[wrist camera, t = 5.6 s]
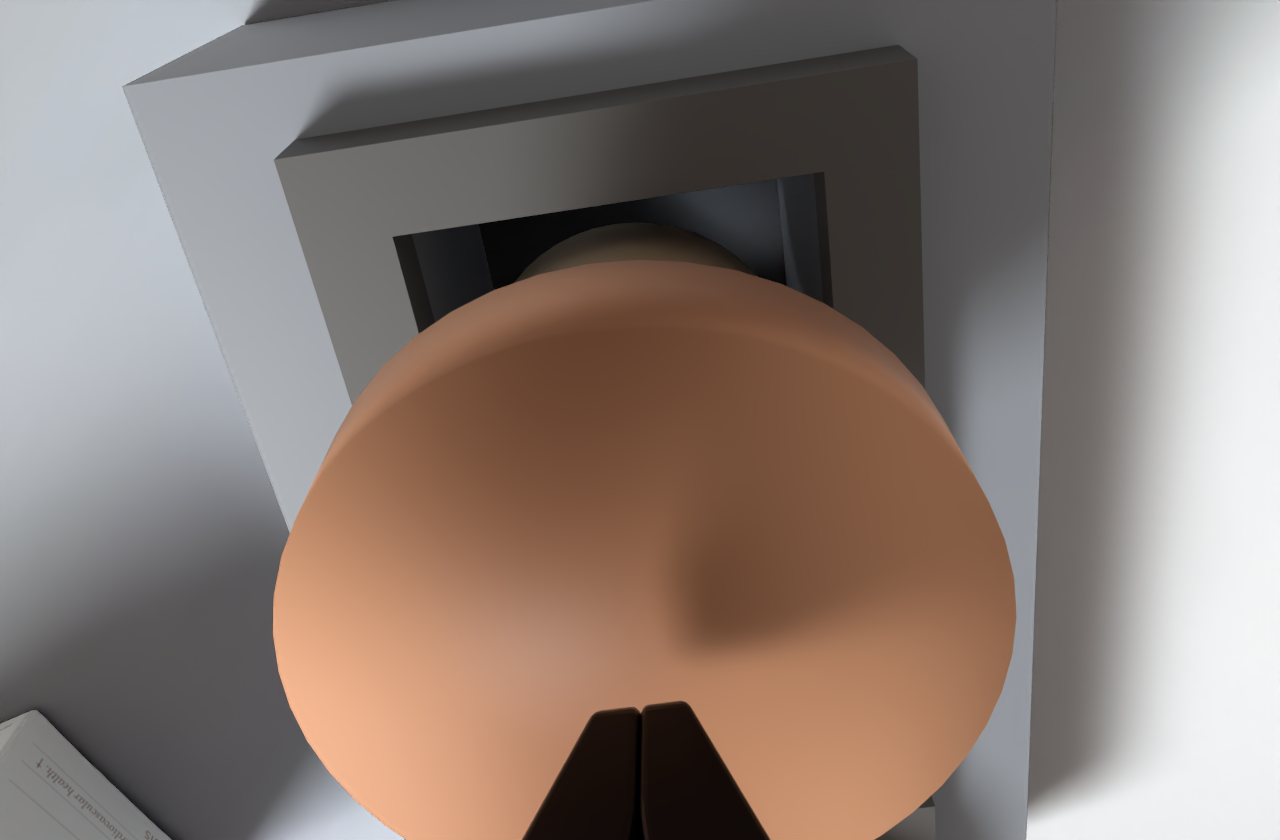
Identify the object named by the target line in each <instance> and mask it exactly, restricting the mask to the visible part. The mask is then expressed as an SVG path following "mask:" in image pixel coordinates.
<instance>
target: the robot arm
mask: <svg viewBox="0 0 1280 840" xmlns="http://www.w3.org/2000/svg"><path fill="white" fill-rule="evenodd" d="M522 840H771V839H770V838H769V836H768V834H767V833H766V831H765V829H764V828H763V826H762V824H761V823H760V821H759V819H758V818H757V816H756V814H755V813H754V811H753V809H752V808H751V806H750V804H749V803H748V801H747V799H746V798H745V796H744V794H743V793H742V791H741V789H740V788H739V786H738V784H737V783H736V781H735V779H734V778H733V776H732V774H731V773H730V771H729V769H728V768H727V766H726V764H725V763H724V761H723V759H722V758H721V756H720V754H719V753H718V751H717V749H716V748H715V746H714V744H713V743H712V741H711V739H710V738H709V736H708V734H707V733H706V731H705V729H704V728H703V726H702V724H701V723H700V721H699V719H698V718H697V716H696V714H695V713H694V711H693V709H692V708H691V706H690V705H689V704H688V703H687V702H685V701H674V702H666V703H658V704H649V705H646V706H645V707H644V708H643V709H642V712H640V711H639V710H638V709H637V708H635V707H625V708H617V709H609V710H601V711H597V712H595V713H594V714H593V715H592V716H591V717H590V719H589V720H588V722H587V724H586V726H585V728H584V729H583V731H582V733H581V735H580V736H579V738H578V740H577V742H576V744H575V745H574V747H573V749H572V751H571V753H570V754H569V756H568V758H567V760H566V761H565V763H564V765H563V767H562V769H561V770H560V772H559V774H558V776H557V778H556V779H555V781H554V783H553V785H552V786H551V788H550V790H549V792H548V794H547V795H546V797H545V799H544V801H543V802H542V804H541V806H540V808H539V810H538V811H537V813H536V815H535V817H534V819H533V820H532V822H531V824H530V826H529V827H528V829H527V831H526V833H525V835H524V836H523V838H522Z"/></svg>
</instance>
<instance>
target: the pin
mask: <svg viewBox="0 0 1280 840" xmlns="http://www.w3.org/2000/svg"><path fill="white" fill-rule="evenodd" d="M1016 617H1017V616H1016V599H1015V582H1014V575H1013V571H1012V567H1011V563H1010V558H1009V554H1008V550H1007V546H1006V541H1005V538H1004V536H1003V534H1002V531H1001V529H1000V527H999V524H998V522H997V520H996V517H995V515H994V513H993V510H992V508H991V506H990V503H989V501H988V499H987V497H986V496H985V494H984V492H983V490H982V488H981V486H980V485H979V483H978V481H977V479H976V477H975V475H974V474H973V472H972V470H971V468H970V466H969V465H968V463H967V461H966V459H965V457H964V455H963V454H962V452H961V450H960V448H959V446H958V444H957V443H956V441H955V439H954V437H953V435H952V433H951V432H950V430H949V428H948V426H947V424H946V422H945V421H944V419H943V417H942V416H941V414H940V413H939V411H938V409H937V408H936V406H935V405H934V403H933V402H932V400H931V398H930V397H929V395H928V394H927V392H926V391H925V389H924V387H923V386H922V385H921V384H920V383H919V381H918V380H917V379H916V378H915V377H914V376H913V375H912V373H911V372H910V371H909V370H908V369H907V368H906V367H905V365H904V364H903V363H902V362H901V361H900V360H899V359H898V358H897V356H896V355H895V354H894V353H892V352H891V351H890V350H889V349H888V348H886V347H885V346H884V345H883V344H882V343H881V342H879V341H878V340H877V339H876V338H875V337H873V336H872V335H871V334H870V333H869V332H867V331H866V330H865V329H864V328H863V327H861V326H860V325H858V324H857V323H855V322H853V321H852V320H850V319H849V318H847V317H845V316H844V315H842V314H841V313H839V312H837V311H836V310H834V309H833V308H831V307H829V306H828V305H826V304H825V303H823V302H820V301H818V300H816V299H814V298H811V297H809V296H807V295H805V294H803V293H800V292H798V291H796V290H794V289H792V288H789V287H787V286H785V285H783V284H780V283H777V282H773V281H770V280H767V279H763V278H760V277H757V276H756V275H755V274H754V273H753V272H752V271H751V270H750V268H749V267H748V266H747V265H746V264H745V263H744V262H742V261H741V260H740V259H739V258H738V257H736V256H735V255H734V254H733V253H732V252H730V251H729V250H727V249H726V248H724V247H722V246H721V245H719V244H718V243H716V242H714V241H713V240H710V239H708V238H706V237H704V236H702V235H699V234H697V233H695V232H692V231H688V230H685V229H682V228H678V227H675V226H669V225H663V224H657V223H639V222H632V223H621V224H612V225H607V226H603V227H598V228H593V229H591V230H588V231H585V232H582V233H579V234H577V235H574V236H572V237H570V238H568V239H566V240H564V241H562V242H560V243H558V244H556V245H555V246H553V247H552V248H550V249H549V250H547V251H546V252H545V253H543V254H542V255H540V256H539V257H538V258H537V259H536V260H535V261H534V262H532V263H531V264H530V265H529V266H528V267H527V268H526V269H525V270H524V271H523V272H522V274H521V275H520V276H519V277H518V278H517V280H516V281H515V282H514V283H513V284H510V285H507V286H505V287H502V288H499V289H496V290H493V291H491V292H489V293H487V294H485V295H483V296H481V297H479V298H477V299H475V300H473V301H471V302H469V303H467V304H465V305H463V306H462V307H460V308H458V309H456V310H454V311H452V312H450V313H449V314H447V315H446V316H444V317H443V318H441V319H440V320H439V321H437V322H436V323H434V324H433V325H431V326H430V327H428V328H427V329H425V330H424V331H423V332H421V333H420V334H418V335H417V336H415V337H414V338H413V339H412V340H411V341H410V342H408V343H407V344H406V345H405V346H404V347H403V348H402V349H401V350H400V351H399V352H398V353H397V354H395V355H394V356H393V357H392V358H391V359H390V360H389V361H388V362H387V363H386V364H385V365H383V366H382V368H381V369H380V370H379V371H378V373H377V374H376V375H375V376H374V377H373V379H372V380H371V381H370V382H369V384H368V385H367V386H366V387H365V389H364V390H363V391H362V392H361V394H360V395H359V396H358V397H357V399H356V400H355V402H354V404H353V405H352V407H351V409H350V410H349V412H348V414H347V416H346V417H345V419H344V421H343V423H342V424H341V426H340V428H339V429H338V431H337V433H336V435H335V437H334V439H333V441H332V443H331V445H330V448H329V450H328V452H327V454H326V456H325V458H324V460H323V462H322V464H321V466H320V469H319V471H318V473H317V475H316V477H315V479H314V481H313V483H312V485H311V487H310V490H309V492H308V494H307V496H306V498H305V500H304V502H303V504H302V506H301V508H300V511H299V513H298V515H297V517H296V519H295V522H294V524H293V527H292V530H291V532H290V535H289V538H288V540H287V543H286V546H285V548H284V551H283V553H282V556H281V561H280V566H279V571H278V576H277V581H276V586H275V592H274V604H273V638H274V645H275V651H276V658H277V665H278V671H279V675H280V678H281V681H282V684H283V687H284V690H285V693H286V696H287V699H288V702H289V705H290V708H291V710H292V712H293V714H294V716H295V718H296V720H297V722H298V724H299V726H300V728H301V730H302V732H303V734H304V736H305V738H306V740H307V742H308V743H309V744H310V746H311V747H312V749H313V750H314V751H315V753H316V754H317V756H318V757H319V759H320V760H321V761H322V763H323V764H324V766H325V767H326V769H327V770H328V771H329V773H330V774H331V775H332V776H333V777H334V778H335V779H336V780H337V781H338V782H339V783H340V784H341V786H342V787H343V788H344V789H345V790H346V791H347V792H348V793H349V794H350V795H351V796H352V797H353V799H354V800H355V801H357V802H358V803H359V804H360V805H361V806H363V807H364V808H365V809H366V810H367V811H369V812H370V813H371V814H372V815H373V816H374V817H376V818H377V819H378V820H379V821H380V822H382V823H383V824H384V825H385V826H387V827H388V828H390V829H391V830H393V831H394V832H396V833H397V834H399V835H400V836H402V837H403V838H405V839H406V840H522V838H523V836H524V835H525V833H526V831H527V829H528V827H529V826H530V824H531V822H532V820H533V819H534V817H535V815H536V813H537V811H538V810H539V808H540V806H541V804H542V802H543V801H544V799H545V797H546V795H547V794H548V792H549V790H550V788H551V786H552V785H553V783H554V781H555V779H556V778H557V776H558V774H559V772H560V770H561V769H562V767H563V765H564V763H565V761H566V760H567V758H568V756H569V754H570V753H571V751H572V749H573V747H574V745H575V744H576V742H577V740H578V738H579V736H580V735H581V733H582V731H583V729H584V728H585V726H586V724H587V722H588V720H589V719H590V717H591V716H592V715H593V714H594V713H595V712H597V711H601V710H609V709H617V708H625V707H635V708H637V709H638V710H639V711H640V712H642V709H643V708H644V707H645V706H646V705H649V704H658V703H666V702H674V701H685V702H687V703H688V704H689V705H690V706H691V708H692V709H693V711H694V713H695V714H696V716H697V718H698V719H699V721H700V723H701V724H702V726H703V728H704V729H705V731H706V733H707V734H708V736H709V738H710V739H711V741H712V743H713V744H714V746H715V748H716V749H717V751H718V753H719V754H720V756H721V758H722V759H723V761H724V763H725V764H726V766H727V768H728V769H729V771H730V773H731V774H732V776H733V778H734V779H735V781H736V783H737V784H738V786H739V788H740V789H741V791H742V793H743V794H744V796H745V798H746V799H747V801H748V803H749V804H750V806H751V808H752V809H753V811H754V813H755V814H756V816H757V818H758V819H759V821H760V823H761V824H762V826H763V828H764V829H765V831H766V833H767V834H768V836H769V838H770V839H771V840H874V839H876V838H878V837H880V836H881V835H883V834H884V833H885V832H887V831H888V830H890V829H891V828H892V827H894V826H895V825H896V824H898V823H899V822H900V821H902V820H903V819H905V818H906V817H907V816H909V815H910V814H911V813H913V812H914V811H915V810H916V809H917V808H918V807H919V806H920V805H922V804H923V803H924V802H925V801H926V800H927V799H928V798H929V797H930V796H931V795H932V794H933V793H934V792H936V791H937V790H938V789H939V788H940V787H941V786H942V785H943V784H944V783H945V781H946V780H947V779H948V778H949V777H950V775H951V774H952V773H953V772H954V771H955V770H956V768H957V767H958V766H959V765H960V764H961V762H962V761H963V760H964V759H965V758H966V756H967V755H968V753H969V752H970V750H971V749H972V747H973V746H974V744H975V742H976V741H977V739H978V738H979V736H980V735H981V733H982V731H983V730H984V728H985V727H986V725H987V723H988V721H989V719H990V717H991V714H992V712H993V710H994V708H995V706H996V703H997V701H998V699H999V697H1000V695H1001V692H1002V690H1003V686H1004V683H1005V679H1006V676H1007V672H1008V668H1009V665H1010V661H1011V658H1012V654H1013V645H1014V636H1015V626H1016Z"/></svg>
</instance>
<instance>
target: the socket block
mask: <svg viewBox="0 0 1280 840" xmlns="http://www.w3.org/2000/svg"><path fill="white" fill-rule="evenodd" d="M1056 10H1057V0H394V1H388V2H382V3H376V4H370V5H364V6H358V7H352V8H345V9H339V10H333V11H327V12H321V13H315V14H309V15H303V16H297V17H291V18H285V19H278V20H272V21H266V22H260V23H254V24H248V25H242V26H240V27H238V28H236V29H234V30H232V31H230V32H229V33H227V34H225V35H223V36H221V37H219V38H217V39H215V40H213V41H211V42H209V43H207V44H205V45H203V46H201V47H199V48H197V49H195V50H193V51H191V52H189V53H187V54H185V55H183V56H181V57H179V58H177V59H175V60H173V61H171V62H170V63H168V64H166V65H164V66H162V67H160V68H158V69H156V70H154V71H152V72H150V73H148V74H146V75H144V76H142V77H140V78H138V79H136V80H134V81H132V82H130V83H128V84H126V85H124V86H122V88H123V90H124V93H125V96H126V98H127V101H128V104H129V106H130V109H131V112H132V114H133V117H134V120H135V122H136V125H137V128H138V130H139V133H140V136H141V138H142V141H143V144H144V146H145V149H146V152H147V154H148V157H149V160H150V162H151V165H152V168H153V170H154V173H155V176H156V178H157V181H158V184H159V186H160V189H161V192H162V194H163V197H164V200H165V202H166V205H167V208H168V210H169V213H170V216H171V218H172V221H173V224H174V226H175V229H176V232H177V234H178V237H179V240H180V242H181V245H182V248H183V250H184V253H185V256H186V258H187V261H188V263H189V266H190V269H191V271H192V274H193V277H194V279H195V282H196V285H197V287H198V290H199V293H200V295H201V298H202V301H203V303H204V306H205V309H206V311H207V314H208V317H209V319H210V322H211V325H212V327H213V330H214V333H215V335H216V338H217V341H218V343H219V346H220V349H221V351H222V354H223V357H224V359H225V362H226V365H227V367H228V370H229V373H230V375H231V378H232V381H233V383H234V386H235V389H236V391H237V394H238V397H239V399H240V402H241V405H242V407H243V410H244V413H245V415H246V418H247V421H248V423H249V426H250V429H251V431H252V434H253V437H254V439H255V442H256V445H257V447H258V450H259V453H260V455H261V458H262V461H263V463H264V466H265V469H266V471H267V474H268V477H269V479H270V482H271V485H272V487H273V490H274V493H275V495H276V498H277V501H278V503H279V506H280V509H281V511H282V514H283V517H284V519H285V522H286V525H287V527H288V530H289V533H290V532H291V530H292V527H293V524H294V522H295V519H296V517H297V515H298V513H299V511H300V508H301V506H302V504H303V502H304V500H305V498H306V496H307V494H308V492H309V490H310V487H311V485H312V483H313V481H314V479H315V477H316V475H317V473H318V471H319V469H320V466H321V464H322V462H323V460H324V458H325V456H326V454H327V452H328V450H329V448H330V445H331V443H332V441H333V439H334V437H335V435H336V433H337V431H338V429H339V428H340V426H341V424H342V423H343V421H344V419H345V417H346V416H347V414H348V412H349V410H350V409H351V407H352V405H353V404H354V402H355V400H356V399H357V397H358V396H359V395H360V394H361V392H362V391H363V390H364V389H365V387H366V386H367V385H368V384H369V382H370V381H371V380H372V379H373V377H374V376H375V375H376V374H377V373H378V371H379V370H380V369H381V368H382V366H383V365H385V364H386V363H387V362H388V361H389V360H390V359H391V358H392V357H393V356H394V355H395V354H397V353H398V352H399V351H400V350H401V349H402V348H403V347H404V346H405V345H406V344H407V343H408V342H410V341H411V340H412V339H413V338H414V337H415V336H417V335H418V334H420V333H421V332H423V331H424V330H425V329H427V328H428V327H430V326H431V325H433V324H434V323H436V322H437V321H439V320H440V319H441V318H443V317H444V316H446V315H447V314H449V313H450V312H452V311H454V310H456V309H458V308H460V307H462V306H463V305H465V304H467V303H469V302H471V301H473V300H475V299H477V298H479V297H481V296H483V295H485V294H487V293H489V292H491V291H493V290H494V288H493V284H492V279H491V275H490V271H489V267H488V262H487V258H486V254H485V249H484V245H483V241H482V236H481V232H480V228H479V224H480V223H487V222H493V221H500V220H507V219H513V218H520V217H526V216H533V215H540V214H546V213H553V212H560V211H566V210H573V209H579V208H586V207H593V206H599V205H606V204H613V203H619V202H626V201H632V200H639V199H646V198H652V197H659V196H666V195H672V194H679V193H686V192H692V191H699V190H705V189H712V188H719V187H725V186H732V185H739V184H745V183H752V182H758V181H765V180H772V179H777V185H778V196H779V207H780V218H781V229H782V241H783V252H784V263H785V274H786V285H787V287H789V288H792V289H794V290H796V291H798V292H800V293H803V294H805V295H807V296H809V297H811V298H814V299H816V300H818V301H820V302H823V303H825V304H826V305H828V306H829V307H831V308H833V309H834V310H836V311H837V312H839V313H841V314H842V315H844V316H845V317H847V318H849V319H850V320H852V321H853V322H855V323H857V324H858V325H860V326H861V327H863V328H864V329H865V330H866V331H867V332H869V333H870V334H871V335H872V336H873V337H875V338H876V339H877V340H878V341H879V342H881V343H882V344H883V345H884V346H885V347H886V348H888V349H889V350H890V351H891V352H892V353H894V354H895V355H896V356H897V358H898V359H899V360H900V361H901V362H902V363H903V364H904V365H905V367H906V368H907V369H908V370H909V371H910V372H911V373H912V375H913V376H914V377H915V378H916V379H917V380H918V381H919V383H920V384H921V385H922V386H923V387H924V389H925V391H926V392H927V394H928V395H929V397H930V398H931V400H932V402H933V403H934V405H935V406H936V408H937V409H938V411H939V413H940V414H941V416H942V417H943V419H944V421H945V422H946V424H947V426H948V428H949V430H950V432H951V433H952V435H953V437H954V439H955V441H956V443H957V444H958V446H959V448H960V450H961V452H962V454H963V455H964V457H965V459H966V461H967V463H968V465H969V466H970V468H971V470H972V472H973V474H974V475H975V477H976V479H977V481H978V483H979V485H980V486H981V488H982V490H983V492H984V494H985V496H986V497H987V499H988V501H989V503H990V506H991V508H992V510H993V513H994V515H995V517H996V520H997V522H998V524H999V527H1000V529H1001V531H1002V534H1003V536H1004V538H1005V541H1006V546H1007V550H1008V554H1009V558H1010V563H1011V567H1012V571H1013V575H1014V582H1015V599H1016V616H1017V617H1016V626H1015V636H1014V645H1013V654H1012V658H1011V661H1010V665H1009V668H1008V672H1007V676H1006V679H1005V683H1004V686H1003V690H1002V692H1001V695H1000V697H999V699H998V701H997V703H996V706H995V708H994V710H993V712H992V714H991V717H990V719H989V721H988V723H987V725H986V727H985V728H984V730H983V731H982V733H981V735H980V736H979V738H978V739H977V741H976V742H975V744H974V746H973V747H972V749H971V750H970V752H969V753H968V755H967V756H966V758H965V759H964V760H963V761H962V762H961V764H960V765H959V766H958V767H957V768H956V770H955V771H954V772H953V773H952V774H951V775H950V777H949V778H948V779H947V780H946V781H945V783H944V784H943V785H942V786H941V787H940V788H939V789H938V790H937V791H936V792H934V793H933V794H932V795H931V796H930V797H929V798H928V799H927V800H926V801H925V802H924V803H923V804H922V805H920V806H919V807H918V808H917V809H916V810H915V811H914V812H913V813H911V814H910V815H909V816H907V817H906V818H905V819H903V820H902V821H900V822H899V823H898V824H896V825H895V826H894V827H892V828H891V829H890V830H888V831H887V832H885V833H884V834H883V835H881V836H880V837H878V838H876V839H874V840H1026V830H1027V803H1028V776H1029V748H1030V721H1031V694H1032V666H1033V639H1034V611H1035V584H1036V557H1037V529H1038V502H1039V475H1040V447H1041V420H1042V393H1043V365H1044V338H1045V311H1046V283H1047V256H1048V228H1049V201H1050V174H1051V146H1052V119H1053V92H1054V64H1055V37H1056ZM404 839H405V838H404ZM405 840H406V839H405Z"/></svg>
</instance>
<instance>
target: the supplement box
mask: <svg viewBox="0 0 1280 840" xmlns="http://www.w3.org/2000/svg"><path fill="white" fill-rule="evenodd" d="M0 840H172V839H170V838H169V837H168V836H167V835H166V834H165V833H164V832H163V831H161V830H160V829H159V828H158V827H157V826H156V825H155V824H154V823H153V822H152V821H151V820H149V819H148V818H147V817H146V816H145V815H144V814H143V813H142V812H141V811H140V810H139V809H138V808H137V807H136V806H135V805H134V804H133V803H132V802H130V801H129V800H128V799H127V798H126V797H125V796H124V795H123V794H122V793H121V792H120V791H119V790H118V789H117V788H116V787H115V786H114V785H113V784H111V783H110V782H109V781H108V780H107V779H106V778H105V777H104V775H103V774H102V773H101V772H100V771H98V770H97V769H96V768H95V767H94V766H93V765H92V764H90V763H89V762H88V761H87V760H86V759H85V758H84V757H83V756H82V755H81V754H80V753H79V752H78V751H77V750H76V749H75V748H74V747H73V746H72V745H71V744H70V743H69V742H68V741H67V740H66V739H65V738H64V737H63V736H62V735H61V734H60V733H59V732H58V731H57V730H56V729H55V727H54V726H53V725H52V724H51V723H50V722H49V721H48V720H47V719H46V718H45V717H44V716H43V715H42V714H41V713H40V712H38V711H37V710H31V711H29V712H26V713H24V714H21V715H19V716H17V717H15V718H12V719H10V720H7V721H5V722H3V723H1V724H0Z"/></svg>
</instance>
